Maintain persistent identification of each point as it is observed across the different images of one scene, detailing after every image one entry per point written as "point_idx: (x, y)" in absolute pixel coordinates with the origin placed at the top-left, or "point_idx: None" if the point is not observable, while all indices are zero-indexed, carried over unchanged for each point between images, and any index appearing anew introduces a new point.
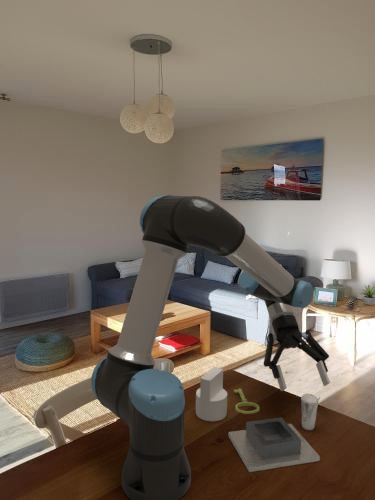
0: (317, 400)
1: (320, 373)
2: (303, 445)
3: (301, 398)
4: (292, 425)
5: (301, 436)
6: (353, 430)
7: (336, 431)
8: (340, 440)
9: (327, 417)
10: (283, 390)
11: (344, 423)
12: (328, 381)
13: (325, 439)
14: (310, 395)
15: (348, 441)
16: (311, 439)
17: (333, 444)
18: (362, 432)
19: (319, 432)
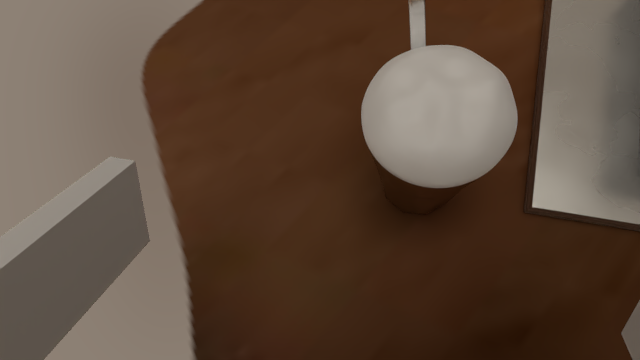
0: (400, 56)
1: (62, 308)
2: (588, 17)
3: (512, 139)
4: (534, 188)
5: (549, 81)
6: (215, 73)
7: (300, 95)
8: (340, 33)
9: (240, 215)
10: (625, 325)
11: (204, 135)
12: (115, 166)
13: None
14: (420, 116)
15: (311, 16)
16: None
17: (397, 20)
18: (191, 47)
19: None
